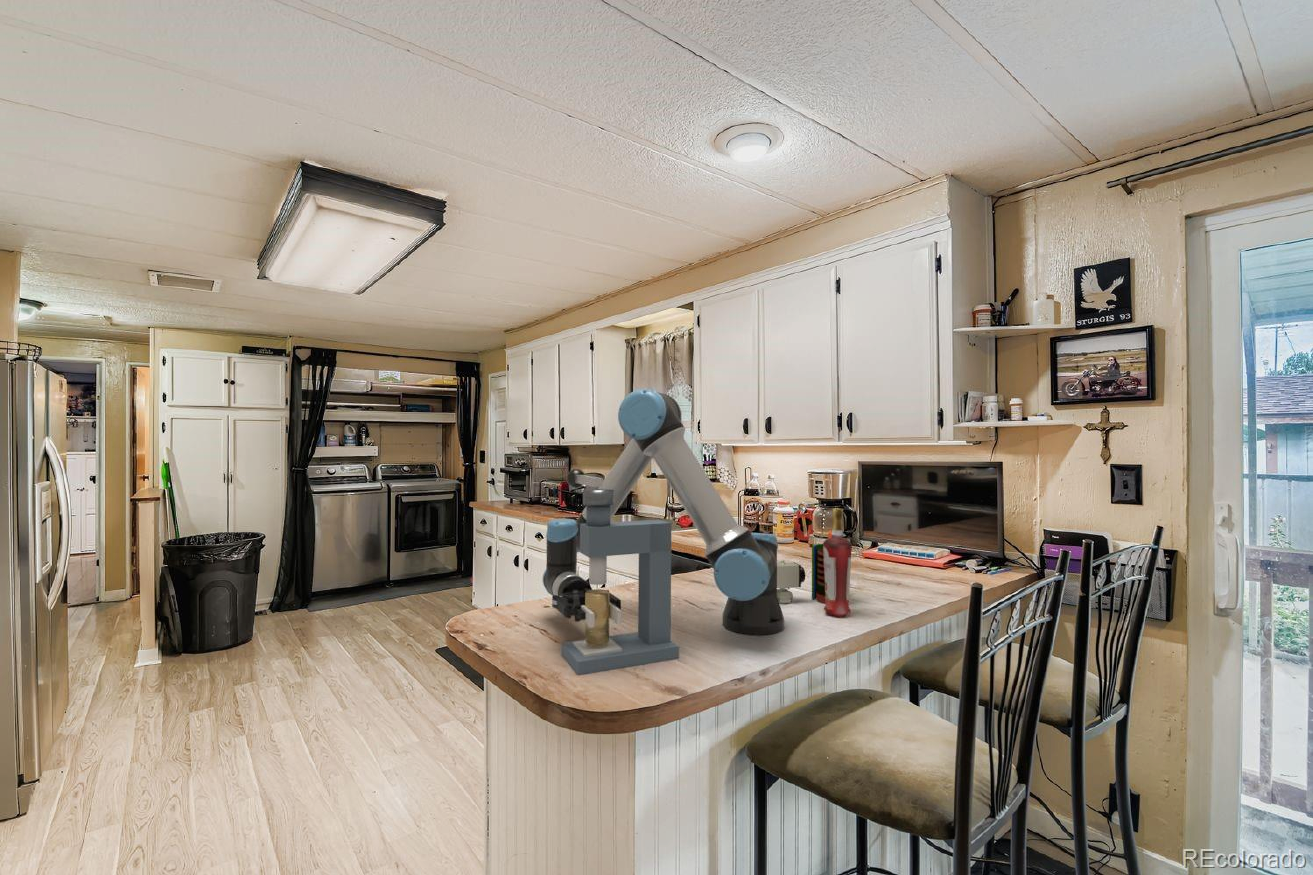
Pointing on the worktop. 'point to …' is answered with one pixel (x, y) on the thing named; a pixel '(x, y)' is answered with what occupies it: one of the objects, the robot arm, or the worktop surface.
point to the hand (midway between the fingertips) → (606, 618)
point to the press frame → (652, 597)
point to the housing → (598, 616)
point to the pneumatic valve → (788, 579)
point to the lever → (591, 495)
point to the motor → (818, 572)
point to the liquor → (837, 569)
